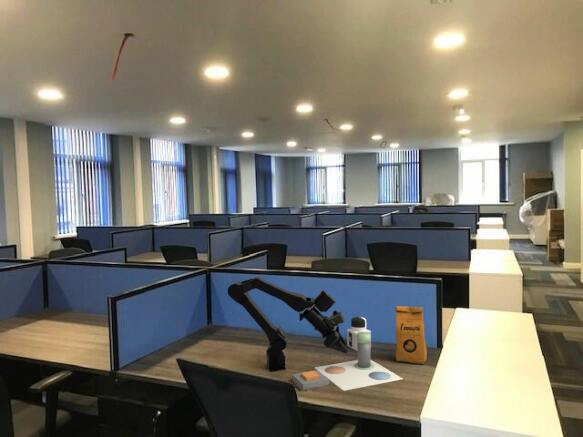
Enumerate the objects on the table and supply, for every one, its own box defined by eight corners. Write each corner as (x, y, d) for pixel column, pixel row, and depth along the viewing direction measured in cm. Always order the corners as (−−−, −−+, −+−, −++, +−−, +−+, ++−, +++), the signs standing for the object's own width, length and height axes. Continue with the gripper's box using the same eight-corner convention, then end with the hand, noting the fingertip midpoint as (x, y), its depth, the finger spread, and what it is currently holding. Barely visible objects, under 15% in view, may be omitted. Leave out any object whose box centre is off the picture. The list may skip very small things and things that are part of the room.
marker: (365, 369, 180) (365, 336, 179) (354, 366, 184) (354, 334, 183) (373, 365, 184) (373, 333, 183) (362, 362, 187) (362, 331, 187)
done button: (306, 383, 167) (306, 377, 166) (301, 378, 171) (301, 372, 171) (319, 381, 168) (319, 375, 168) (313, 376, 173) (313, 370, 173)
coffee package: (425, 366, 184) (425, 310, 183) (393, 363, 188) (392, 308, 187) (428, 358, 193) (428, 304, 192) (397, 355, 198) (397, 302, 197)
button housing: (303, 391, 163) (302, 384, 163) (292, 381, 173) (292, 374, 173) (329, 386, 167) (329, 379, 167) (317, 376, 176) (317, 370, 176)
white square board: (343, 392, 161) (343, 390, 161) (314, 369, 184) (314, 367, 184) (403, 381, 170) (403, 378, 170) (368, 360, 192) (368, 357, 192)
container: (356, 351, 204) (355, 321, 203) (347, 345, 211) (346, 317, 211) (371, 348, 207) (371, 318, 207) (361, 343, 214) (361, 314, 214)
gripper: (332, 311, 174) (363, 341, 174) (331, 300, 193) (359, 327, 193) (311, 332, 175) (341, 362, 175) (312, 319, 194) (340, 346, 193)
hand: (346, 348), depth 184 cm, fingers open, 9 cm apart
